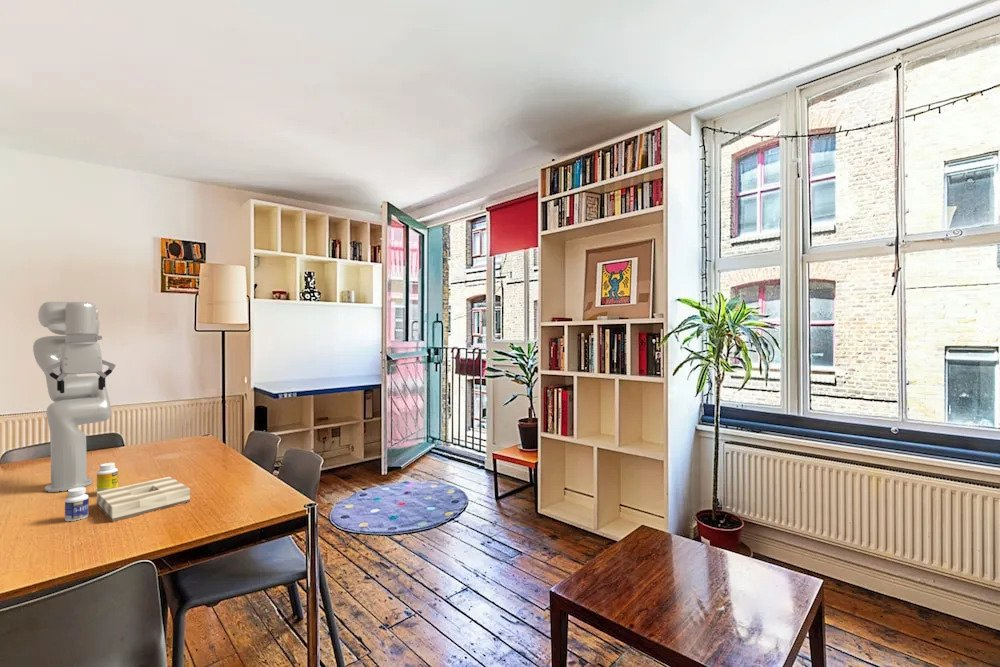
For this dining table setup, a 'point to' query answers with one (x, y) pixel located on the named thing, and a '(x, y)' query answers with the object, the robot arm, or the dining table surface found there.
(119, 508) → the socket block
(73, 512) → the pill bottle
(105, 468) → the supplement bottle
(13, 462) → the dining table surface
